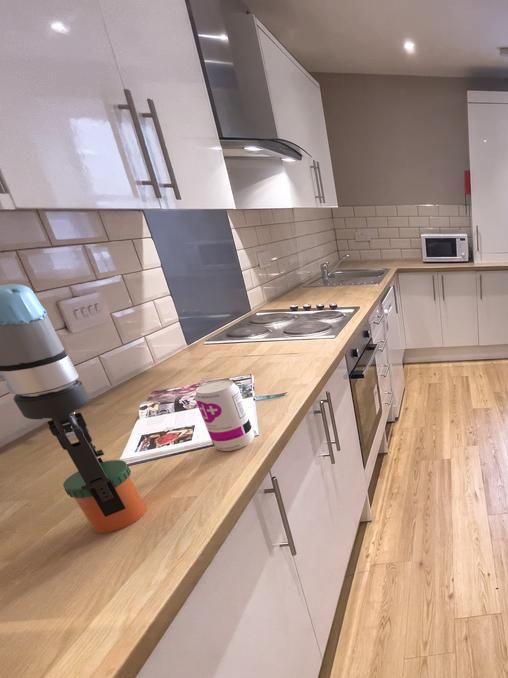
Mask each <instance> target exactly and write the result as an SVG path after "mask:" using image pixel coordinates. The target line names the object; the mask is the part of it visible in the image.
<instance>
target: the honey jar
mask: <svg viewBox="0 0 508 678" xmlns="http://www.w3.org/2000/svg"><path fill="white" fill-rule="evenodd" d="M115 489H116V491H117V493H118V495H119V497H120V499H121V500H122V502H123V504H124V506H125V508H126V509H124V510H121V511H119V512H116V513H114V514H112V515H109V516H107V517H105V516H104V514H103V512H102V511H101V509H100V507H99V506H98V504H97V502H96V500H95V499H94V497H93V496H91V497H85V498H73V499H74V500H75V502H76V503H77V505H78V507H79V508H80V510H81V512H82V514H83V515H84V517H85V518H86V521H87V522H88V523H89V526H90V527H91V528H92V530H93V531H94V532H95V533H97V534H98V533H99V534H108V533H112V532H117V531H119V530H122V529H125V528H127V527H129V526H131V525H132V524H134V523H135V522H138V520H140V519H141V518H142V517H143V516H144V514H145V513H146V511H147V506H146V504H145V503H144V500H143V499H142V496H141V495H140V493H139V491H138V489H137V487H136V485H135V483H134V482H133V479H132V478H131V475H130V476H129V477H128V479H127V480H125V481H124V482H123V483H122V484H120V485H118V486H117V487H115Z"/></svg>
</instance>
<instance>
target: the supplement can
mask: <svg viewBox="0 0 508 678" xmlns="http://www.w3.org/2000/svg"><path fill="white" fill-rule="evenodd" d="M194 400H195V402H196V404H197V407H198V410H199V412H200V416H201V418H202V420H203V422H204V425H205V428H206V430H207V433H208V436H209V437H210V441H211V442H212V445H213V448H214V449H216V450H218V451H222V452H232V451H237V450H239V449H240V450H241V449H242V448H244V447H246V446H248V445H249V444H250V443H252V441H253V439H254V438H255V432H254V428H253V426H252V423H251V420H250V417H249V414H248V411H247V409H246V406H245V403H244V400H243V396H242V392H241V391H240V388H239V386H238V385H237V384H235V383H234V381H233V380H232V379H218V380H212V381H209V382H205V383H203V384H202V385H199V386H198V387H197V388H196V389H195V396H194Z"/></svg>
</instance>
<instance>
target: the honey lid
mask: <svg viewBox="0 0 508 678" xmlns="http://www.w3.org/2000/svg"><path fill="white" fill-rule="evenodd" d="M100 464H101V466H102V468H103V470H104V472H105V474H106V476H108V477H109V478H110V480H111V482H112V484H113V486H114V488H115V487H117V486H118V485H120V484H122V483H123V482H124V481H125V480H127V479H128V477H129V476H130V477H131V473H132V471H131V468H130V467H129V465H128V464H127V462H125V461H124V460H120V459H113V460H112V459H111V460H105V461H103V462H101V463H100ZM62 485H63V488H64V491H65V493H66V494H67V496H69V497H70V498H73V499H74V498H85V497H91V496H93V495H92V494H91V492H90V490H89V489H85V490H82V488H81V487H82V486H85V485H86V484H85V482H84V480H83V478H82V476H81V475H80V473H79V471H78V470H77V471H76V472H73V473H72V474H71V475H70V476H68V477H67V478H66V479H65V480H64V482H63V484H62Z"/></svg>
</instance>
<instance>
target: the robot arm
mask: <svg viewBox="0 0 508 678" xmlns="http://www.w3.org/2000/svg"><path fill="white" fill-rule="evenodd" d="M0 382H4V386H5V388H6V389H7V390H8V392H9V393H10V394H11V395H14V396H13V401H14V403H15V405H16V406H17V408H18V410H19V411H20V413H21V415H22V416H23V417H24V418H26V419H27V420H43V419H51V420H47V421H46V422H47V423H48V424H47V425H48V428H49V429H48V430H49V431H50V433H51V434H52V435H53V436H54V437H56V439H57V441H58V443H59V444H60V447H61V448H62V450H64V451H66V452H67V453H68V455H69V457H70V459H71V460H72V462H73V464H74V465H75V468H76V469H77V472H78V471H79V473H80V475H81V476H82V478H83V480H84V482H85V484H86V485H85V486H82V487H81V488H82V490H85V489H89V490H90V492H91V494H92V495H93V497H94V499H95V500H96V502H97V504H98V506H99V507H100V509H101V511H102V512H103V514H104V516H105V517H107V516H109V515H112V514H114V513H116V512H119V511H121V510H124V509H126V508H125V506H124V504H123V502H122V500H121V499H120V497H119V495H118V493H117V491H116V489H115V488H114V486H113V484H112V482H111V480H110V478H109V477H108V476H106V474H105V472H104V470H103V468H102V466H101V464H100V463H101V462H104V461H103V459H102V458H101V457H102V456H104V455H105V452H104V451H103V449H99V450H96V448H97V447H96V445H94V444H93V439H92V435H90V433H89V429H88V424H87V422H86V420H85V417H84V415H83V414H82V412H81V411H79V412H76V410H80V409H82V408H83V407H85V406H87V405H88V404H89V402H90V400H91V399H90V395H89V394H88V392H87V390H86V388H85V386H84V384H83V382H82V381H81V380H79V373H78V371H77V369H76V368H75V365H74V364H73V362H72V360H71V358H70V356H69V354H68V353H66V350H65V348H64V346H63V343H62V342H61V340H60V338H59V336H58V335H57V332H56V330H55V329H54V326H53V324H52V322H51V320H50V318H49V316H48V312H47V309H45V307H44V306H43V305H42V303H41V302H40V301H39V299H38V297H37V296H36V294H35V293H34V291H33V290H32V289H31V288H30V287H28V286H27V285H24V284H19V283H9V284H8V283H7V284H0Z"/></svg>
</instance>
